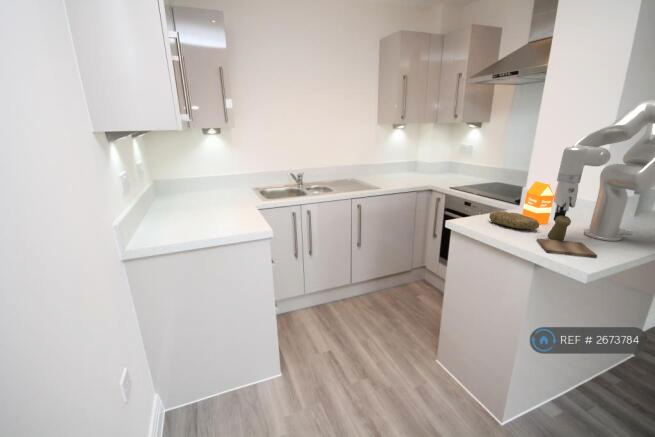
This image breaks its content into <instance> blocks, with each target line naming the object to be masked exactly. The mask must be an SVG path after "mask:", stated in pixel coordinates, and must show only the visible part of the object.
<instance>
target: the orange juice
mask: <svg viewBox="0 0 655 437" xmlns="http://www.w3.org/2000/svg"><path fill="white" fill-rule="evenodd" d="M554 195H555V194H554V193H553V190H552V188H551V186H550V184H549V183H545V182H540V181H536V180H535V181H534V182H533V184H532V185H531V187H529V188H528V190H527V191H526V194H525V197H524V198H525V199H524V204H523V210H522V215H525V216H528V217H531V218H533V219H536V220H537V221H538V223H539V225H548V224H549V222H550V221H549V220H550V215H551V211H552V208H553V203H554Z"/></svg>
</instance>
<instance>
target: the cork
mask: <svg viewBox="0 0 655 437" xmlns="http://www.w3.org/2000/svg"><path fill="white" fill-rule="evenodd" d="M571 224H572V220H571V218H570V217H569V216H568V215H567V216H566V215H565V216H563V215H562V216H558V217H557V218H556V219H555V221H554V224H553V226H552V228H551V229H550V231H549V232H548V233H547V239H550V240H560V241H565V239H566V233H567V229H568V227H569V226H570V225H571Z"/></svg>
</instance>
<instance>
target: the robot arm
mask: <svg viewBox="0 0 655 437" xmlns="http://www.w3.org/2000/svg"><path fill="white" fill-rule="evenodd" d="M644 128H646V129H645V133H644V134H643V135H642V136H641V138H639V139H638V140H637V141H636V142H635V143H634V144H633V145H632V146H631V147H630V148H629V149H628V150H627V151H626V152H625V154H624V155H623V157H622V161H623V163H612V164H609V165H607V163H608V162H609V161H610V160H611V152H610V150H608V149H607V148H605V147H602V146H606V145H607V146H608V145H612V144H618V143H622V142H626V141H628V140H630V139H632V138H634V136H635V135H637V134H638V133H639V132H641V130H643V129H644ZM560 160H561V161H560V166H559V170H558V173H557V178H556V182H557V185H556V188H555V191H554V194H553V195H554V199H553V203H555V205H556V206H555V213H554V215H553V216H554V217H553V221H554V222H555V219H556V218H557V217H558V216H562V215H563V216H566V215H567V212H569V209H570V208H572V209H573V208H575V207H576V203H577V198H578V193H579V184H580V182H581V179H582V174H583V171H584V167H585V166H587V167H601V166H603V165H606V166H605V167H604V168H603V169H602V170H601V172H600V174H599V190H598V195H597V199H596V202H595V205H594V210H593V212H592V217H591V221H590V224H589V226H588V227H589V228H587V229H584V230H583V235H585V236H587V237H590V238H592V239H597V240H601V241H606V242H607V241H609V242H618V241H621V240H622V236H623V235H624V236H633V231H632V230H626V229H622V228H620V227H621V223H622V221H623V217H624V214H625V213H624V212H625V210H626V206H627V204H628V200H629V197H628V195H629V194H628V192H627V190H629V191H634V192H640V193H642V192H646V191H649V190H650V189H652V188H653V187H654V186H655V99H646V100H643V101H640V102H637V103H636V104H635V105H633V106H632V107H631V108H629V109H628V110H627V111H626V112H625V113H624V114H623V115H621V116H620V117H619V118H617V119H616V120H615V121H614V122H613V123H612V124H610V125H608V126H604V127H602V128H600V129H597V130H596V131H593V132H590V133H588V134H587V135H584V136H583V137H582V138H580V139H579V140H578V141H577V142H576V143H574V144H573V145H572V146H569V147H567V146H566V147H565V148H564V149H563V152H562V155H561V159H560Z"/></svg>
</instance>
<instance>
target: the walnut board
mask: <svg viewBox="0 0 655 437" xmlns="http://www.w3.org/2000/svg"><path fill="white" fill-rule="evenodd" d="M536 242H537V244H539V246H540V247H541V248H542V249H543V251H544V252H545V253H546V254H554V255H563V254H564V255H565V256H572V255H574V256H573V257H583V258H593V259H597V258H598V254H596V252H594V251H593V250H592V249H590V248H589V247H588V246H587V245H586V244H585V243H583V242H579V241H570V240H569V241H568V240H564V241H560V240H550V239H549V238H538V237H537V238H536ZM564 255H563V256H564Z"/></svg>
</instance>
